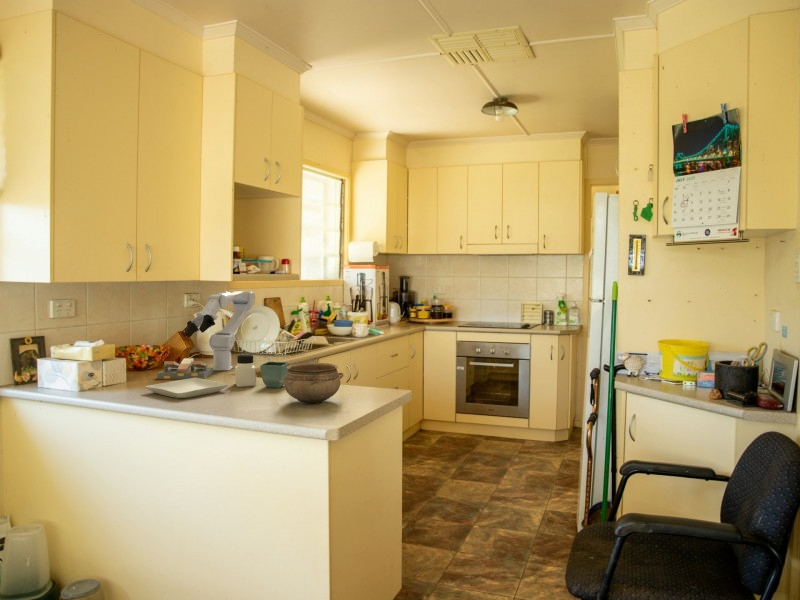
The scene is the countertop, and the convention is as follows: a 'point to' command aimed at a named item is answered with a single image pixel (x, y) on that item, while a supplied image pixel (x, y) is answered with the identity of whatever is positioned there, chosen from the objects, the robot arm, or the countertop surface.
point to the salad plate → (187, 387)
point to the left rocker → (171, 364)
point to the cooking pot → (312, 382)
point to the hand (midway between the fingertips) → (194, 333)
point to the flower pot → (274, 373)
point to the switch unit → (184, 373)
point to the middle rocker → (185, 365)
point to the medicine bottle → (245, 371)
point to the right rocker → (198, 364)
